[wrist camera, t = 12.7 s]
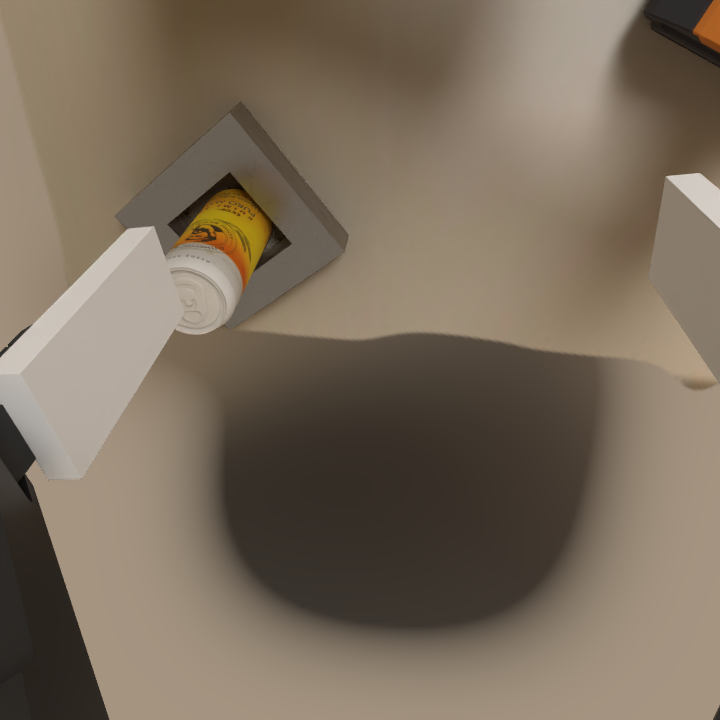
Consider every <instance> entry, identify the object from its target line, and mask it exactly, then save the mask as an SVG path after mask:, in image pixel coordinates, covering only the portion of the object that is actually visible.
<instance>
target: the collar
mask: <svg viewBox="0 0 720 720" xmlns="http://www.w3.org/2000/svg"><path fill="white" fill-rule="evenodd" d="M229 172H230V173H231V174H232V175H233V176H234V178H235V179H236V180H237V181H238V182H239V183H240V184H241V186H242V187H243V188H244V189H245V190H246V191H247V192H248V194H249V195H250V196H251V197H252V198H253V199H254V201H255V202H256V203H257V204H258V205H259V206H260V207H261V209H262V210H263V211H264V212H265V213H266V214H267V215H268V217H269V218H270V219H271V220H272V221H273V222H274V224H275V225H276V226H277V227H278V228H279V229H280V230H281V232H282V233H283V234H284V235H285V236H286V237H285V238H284V239H282V240H281V241H280V242H278V243H277V244H276V245H274V246H273V247H272V248H270V249H269V250H267V251H266V252H265V253H263V254H262V255H261V257H260V259H259V261H258V263H257V265H256V267H255V269H254V271H253V273H252V275H251V277H250V279H249V281H248V283H247V285H246V287H245V290H244V292H243V294H242V296H241V298H240V300H239V302H238V304H237V306H236V308H235V310H234V312H233V314H232V316H231V318H230V319H229V320H228V321H227V322H226V323H225V324H224V325H225V326H226V327H227V328H228V329H229V330H231V329H232V328H234V327H235V326H237V325H238V324H240V323H241V322H243V321H244V320H246V319H247V318H249V317H250V316H252V315H253V314H254V313H256V312H257V311H259V310H260V309H262V308H263V307H265V306H266V305H268V304H269V303H271V302H272V301H274V300H275V299H277V298H278V297H279V296H281V295H282V294H284V293H285V292H287V291H288V290H290V289H291V288H293V287H294V286H296V285H297V284H299V283H300V282H301V281H303V280H304V279H306V278H307V277H309V276H310V275H312V274H313V273H315V272H316V271H318V270H319V269H321V268H322V267H324V266H325V265H326V264H328V263H329V262H331V261H332V260H334V259H335V258H337V257H338V256H340V255H341V254H343V253H344V252H345V248H346V244H347V240H348V234H347V233H346V231H345V230H344V229H343V228H342V226H341V225H340V224H339V223H338V222H337V220H336V219H335V218H334V217H333V215H332V214H331V213H330V212H329V210H328V209H327V208H326V207H325V205H324V204H323V203H322V202H321V200H320V199H319V198H318V197H317V196H316V194H315V193H314V192H313V191H312V189H311V188H310V187H309V186H308V184H307V183H306V182H305V181H304V179H303V178H302V177H301V176H300V174H299V173H298V172H297V171H296V170H295V168H294V167H293V166H292V165H291V163H290V162H289V161H288V160H287V158H286V157H285V156H284V155H283V153H282V152H281V151H280V150H279V148H278V147H277V146H276V145H275V144H274V142H273V141H272V140H271V139H270V137H269V136H268V135H267V134H266V132H265V131H264V130H263V129H262V127H261V126H260V125H259V124H258V122H257V121H256V120H255V119H254V118H253V116H252V115H251V114H250V113H249V111H248V110H247V109H246V108H245V106H244V105H243V104H242V103H241V102H240V103H239V104H238V105H237V106H236V107H235V108H234V109H232V110H231V111H230V112H229V113H228V114H227V115H226V116H225V117H224V118H222V119H221V120H220V121H219V122H218V123H217V124H216V125H215V126H214V127H212V128H211V129H210V130H209V131H208V132H207V133H206V134H205V135H204V136H202V137H201V138H200V139H199V140H198V141H197V142H196V143H195V144H194V145H192V146H191V147H190V148H189V149H188V150H187V151H186V152H185V153H184V154H182V155H181V156H180V157H179V158H178V159H177V160H176V161H175V162H174V163H172V164H171V165H170V166H169V167H168V168H167V169H166V170H165V171H164V172H162V173H161V174H160V175H159V176H158V177H157V178H156V179H155V180H154V181H152V182H151V183H150V184H149V185H148V186H147V187H146V188H145V189H144V190H142V191H141V192H140V193H139V194H138V195H137V196H136V197H135V198H134V199H132V200H131V201H130V202H129V203H128V204H127V205H126V206H125V207H124V208H123V209H122V210H120V211H119V212H118V213H117V214H116V215H115V217H116V218H117V219H118V220H119V221H120V222H121V223H122V224H123V225H124V226H125V227H126V228H127V229H130V228H140V227H151V226H154V227H155V230H156V233H157V236H158V239H159V242H160V244H161V247H162V250H163V253H164V256H166V255H167V253H168V252H169V251H170V250H171V248H172V247H173V246H174V245H175V243H176V242H177V241H178V239H179V238H180V237H181V236H182V234H183V233H184V232H185V230H186V229H187V228H188V227H189V225H190V224H191V223H192V222H193V221H192V220H191V219H190V218H189V217H188V216H187V215H186V214H185V213H184V212H183V211H184V210H185V209H186V208H187V207H189V206H190V205H191V204H192V203H193V202H194V201H196V200H197V199H198V198H199V197H200V196H202V195H203V194H204V193H205V192H206V191H208V190H209V189H210V188H211V187H212V186H214V185H215V184H216V183H217V182H218V181H219V180H221V179H222V178H223V177H224V176H225V175H227V174H228V173H229Z"/></svg>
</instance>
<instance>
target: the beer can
mask: <svg viewBox="0 0 720 720" xmlns="http://www.w3.org/2000/svg"><path fill="white" fill-rule="evenodd" d="M271 232H272V221H271V219H270V218H269V217H268V215H267V214H266V213H265V212H264V211H263V210H262V209H261V207H260V206H259V205H258V204H257V203H256V202H255V201H254V199H253V198H252V197H251V196H250V195H249V194H248V192H247V191H244V190H240V189H226V190H223V191H220V192H218V193H216V194H215V195H214V196H213V197H212V198H211V199H210V200H209V201H208V202H207V204H206V205H205V206H204V207H203V209H202V210H201V211H200V213H199V214H198V215H197V216H196V218H195V219H194V220H193V222H192V223H191V224H190V225H189V227H188V228H187V229H186V230H185V232H184V233H183V234H182V236H181V237H180V238H179V239H178V241H177V242H176V243H175V245H174V246H173V247H172V248H171V250H170V251H169V252H168V253H167V255H166V256H165V258H166V261H167V264H168V267H169V270H170V273H171V275H172V278H173V281H174V284H175V287H176V289H177V292H178V295H179V298H180V301H181V304H182V306H183V309H184V312H185V313H184V315H183V316H182V318H181V320H180V321H179V323H178V324H177V326H176V328H175V330H177V331H180V332H182V333H185V334H191V335H200V334H206V333H209V332H211V331H213V330H215V329H216V328H219V327H221V326H222V325H224V324H225V323H226V322H227V321H228V320H229V319H230V318H231V316H232V314H233V312H234V310H235V308H236V306H237V304H238V302H239V300H240V298H241V296H242V294H243V292H244V290H245V287H246V285H247V283H248V281H249V279H250V277H251V275H252V273H253V271H254V269H255V267H256V265H257V263H258V261H259V259H260V257H261V255H262V252H263V250H264V248H265V246H266V244H267V242H268V240H269V238H270V235H271Z"/></svg>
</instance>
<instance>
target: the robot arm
mask: <svg viewBox="0 0 720 720" xmlns="http://www.w3.org/2000/svg"><path fill="white" fill-rule="evenodd" d="M648 279H649V280H650V282H651V283H652V285H653V286H654V288H655V289H656V291H657V292H658V293H659V295H660V296H661V298H662V299H663V301H664V302H665V304H666V305H667V307H668V308H669V310H670V311H671V313H672V314H673V316H674V317H675V319H676V320H677V322H678V323H679V325H680V326H681V327H682V329H683V330H684V332H685V333H686V335H687V336H688V338H689V339H690V341H691V342H692V344H693V345H694V347H695V348H696V350H697V351H698V353H699V354H700V356H701V357H702V359H703V360H704V361H705V363H706V364H707V366H708V367H709V369H710V370H711V372H712V373H713V375H714V376H715V378H716V379H717V381H718V382H719V384H720V190H719V189H718V188H717V187H716V186H715V185H714V184H712V183H711V182H710V181H709V180H708V179H706V178H705V177H704V176H703V175H702V174H700V173H694V174H684V175H673V176H666V177H665V183H664V189H663V195H662V200H661V206H660V212H659V218H658V223H657V229H656V235H655V241H654V247H653V252H652V258H651V264H650V270H649V275H648ZM184 313H185V312H184V309H183V306H182V304H181V301H180V298H179V295H178V292H177V289H176V287H175V284H174V281H173V278H172V275H171V273H170V270H169V267H168V264H167V261H166V258H165V256H164V253H163V250H162V247H161V244H160V242H159V239H158V236H157V233H156V230H155V227H154V226H151V227H140V228H130V229H127V230H126V231H125V232H124V233H123V234H122V235H121V236H120V237H119V238H118V239H117V240H116V241H115V242H114V243H113V244H112V245H111V246H110V247H109V248H108V249H107V250H106V251H105V252H104V253H103V254H102V255H101V256H100V257H99V258H98V259H97V260H96V261H95V262H94V263H93V264H92V265H91V266H90V267H89V268H88V269H87V270H86V271H85V272H84V274H83V275H82V276H81V277H80V278H79V279H78V280H77V281H76V282H75V283H74V284H73V285H72V286H71V287H70V288H69V289H68V290H67V291H66V292H65V293H64V294H63V295H62V296H61V297H60V298H59V299H58V300H57V301H56V302H55V303H54V304H53V305H52V306H51V307H50V308H49V309H48V310H47V311H46V312H45V313H44V314H43V315H42V316H41V317H40V318H39V319H38V320H37V321H36V322H35V323H34V324H32V325H31V326H29V327H27V328H26V329H24V330H22V331H21V332H20V333H19V334H18V335H17V336H16V337H15V338H14V339H13V340H12V341H11V342H10V343H9V344H8V347H5V348H4V349H3V350H2V351H1V352H0V720H109V717H108V714H107V711H106V708H105V705H104V702H103V699H102V696H101V693H100V690H99V687H98V683H97V680H96V677H95V674H94V671H93V668H92V665H91V662H90V659H89V656H88V653H87V650H86V647H85V644H84V640H83V637H82V634H81V631H80V628H79V625H78V622H77V619H76V616H75V613H74V610H73V607H72V604H71V600H70V597H69V594H68V591H67V588H66V585H65V582H64V579H63V576H62V573H61V570H60V567H59V564H58V561H57V557H56V554H55V551H54V548H53V545H52V542H51V539H50V536H49V533H48V530H47V527H46V524H45V521H44V518H43V515H42V511H41V508H40V505H39V502H38V499H37V496H36V493H35V490H34V487H33V485H32V483H31V482H30V480H29V479H28V478H27V476H26V475H25V473H26V472H27V470H28V469H29V468H30V466H31V465H32V463H33V462H34V461H35V460H36V462H37V463H38V465H39V466H40V468H41V469H42V471H43V473H44V474H45V476H46V477H47V479H48V480H64V479H82V478H83V476H84V475H85V473H86V472H87V470H88V468H89V467H90V465H91V463H92V462H93V460H94V459H95V457H96V455H97V454H98V452H99V450H100V449H101V447H102V446H103V444H104V442H105V440H106V439H107V438H108V436H109V434H110V433H111V431H112V429H113V428H114V426H115V425H116V423H117V421H118V420H119V418H120V417H121V415H122V413H123V412H124V410H125V408H126V407H127V405H128V404H129V402H130V400H131V399H132V397H133V395H134V394H135V392H136V391H137V389H138V387H139V386H140V384H141V383H142V381H143V379H144V378H145V376H146V374H147V373H148V371H149V370H150V368H151V366H152V365H153V363H154V362H155V360H156V358H157V357H158V355H159V353H160V352H161V350H162V349H163V347H164V345H165V344H166V342H167V341H168V339H169V337H170V336H171V334H172V332H173V331H174V329H175V328H176V326H177V324H178V323H179V321H180V320H181V318H182V316H183V315H184ZM713 720H720V706H719V708H718V711H717V712H716V714H715V716H714V718H713Z"/></svg>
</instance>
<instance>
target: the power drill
mask: <svg viewBox="0 0 720 720" xmlns="http://www.w3.org/2000/svg"><path fill="white" fill-rule="evenodd" d="M643 13H644V15H645V16H646V17H647V18H649V19H650V20H652V24H651V29H652V30H653V31H655V32H657V33H659V34H660V35H662V36H664V37H666V38H668V39H669V40H671V41H673V42H675V43H677V44H678V45H680V46H682V47H684V48H686V49H687V50H689V51H691V52H693V53H695V54H696V55H698V56H700V57H702V58H704V59H705V60H707V61H709V62H711V63H713V64H714V65H716V66H718V67H720V0H651V1H650V2H649V4H648V6H647V7H646V9H645V10H644V12H643Z"/></svg>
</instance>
